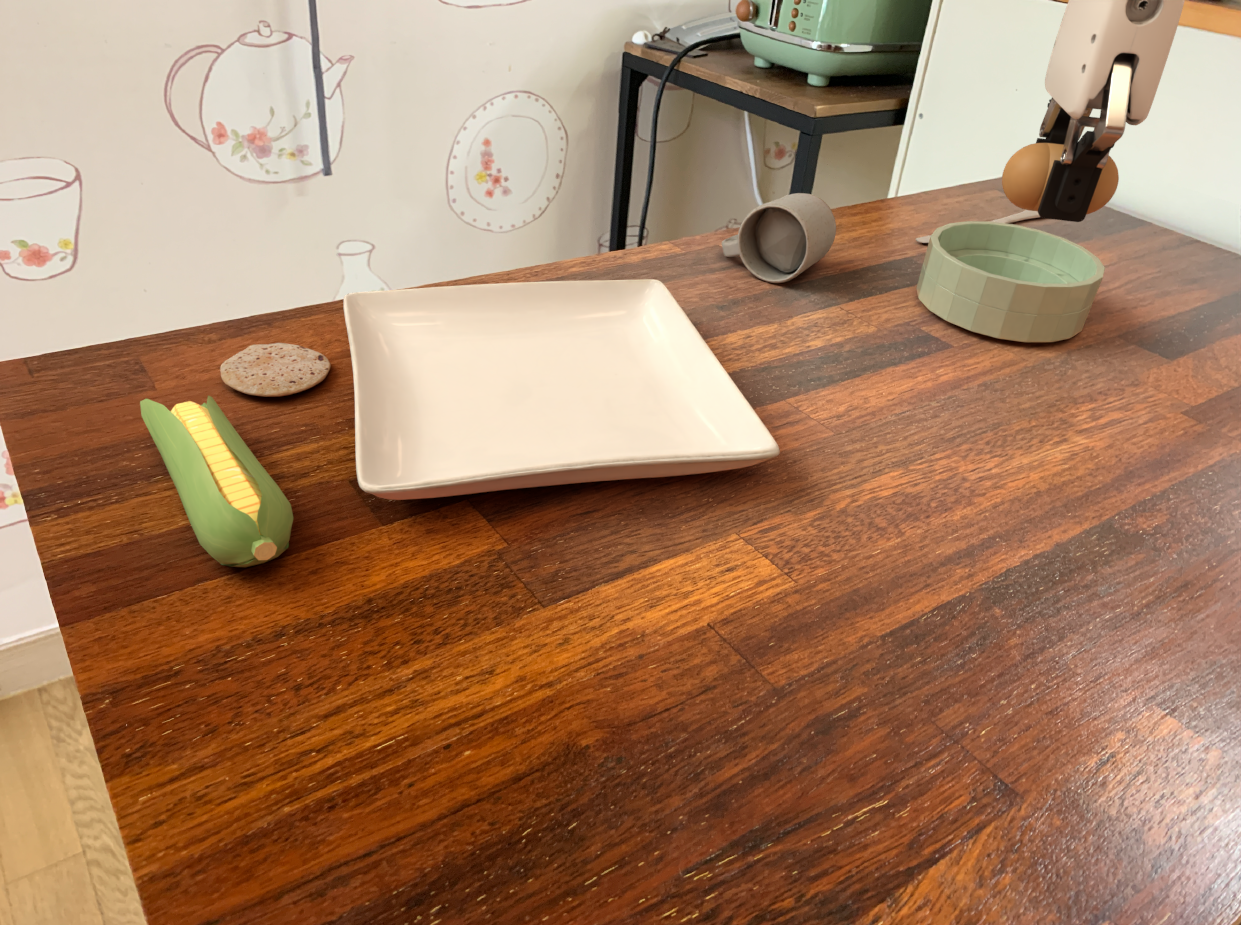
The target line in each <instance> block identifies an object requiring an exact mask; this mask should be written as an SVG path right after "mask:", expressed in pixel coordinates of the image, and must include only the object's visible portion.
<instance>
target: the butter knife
mask: <svg viewBox="0 0 1241 925" xmlns="http://www.w3.org/2000/svg"><path fill="white" fill-rule="evenodd" d="M1036 218H1041V217H1040V215H1039V214H1038V211H1030V210H1025V209H1024V210H1023V211H1020V212H1017V213H1013V214H1011V215H1008V216H1004V217H1000V218H996V219H993V220H990V222H998V223H1006V224H1012V223H1015V222H1019V221H1024V220H1030V219H1036ZM931 235H932V234H931ZM931 235H930V234H929V235H924V236H920V237H915V239H914V240H915V241H916V242H918V243H923V244H929V240H930V236H931Z"/></svg>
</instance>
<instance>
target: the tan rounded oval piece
mask: <svg viewBox="0 0 1241 925" xmlns="http://www.w3.org/2000/svg"><path fill="white" fill-rule="evenodd" d="M1063 146H1064V145H1061V144H1052V143H1036V142H1035V143H1030V144H1028V145H1025V146H1023V147H1021V148H1020V149H1019V150H1017V151H1016V152H1014V154H1012V155H1011V156H1010V158H1009V159H1008V161H1007V162H1006V163H1005V166H1004V168H1003V170H1002V176H1001V185H1002V190H1003V193H1004V195H1005V197H1006V198H1007V199H1008V200H1009V202H1010V203H1011V204H1012V205H1014V206H1016V207H1017V208H1020V209H1022V210H1024V211H1025V210H1030V211H1038V208H1039V205H1040V202H1041V199H1042V196H1043V193H1044V190H1045V187H1046V184H1047V181H1048V178H1049V175H1050V172H1051V169H1052V166H1053V163H1054V160H1059V161H1060V160H1061V154H1062V150H1063ZM1119 179H1120V175H1119V169H1118V167H1117V164H1116V162H1115V161H1114V159H1113V158H1112V157H1111V156H1110V155H1109V156H1108V160H1107V163H1106V165H1105V167H1104V168H1103V169H1102V172H1101V175H1100V178H1099V180H1098V183H1097V186H1096V189H1095V192H1094V194H1093V197H1092V200H1091V203H1090V205H1089V208H1088V211H1087V214H1086V216H1088V215H1090V214H1092V213H1093V214H1094V213H1095V212H1097V211H1099V210H1100V209H1102V208H1104V207H1105V206H1106V205H1107V204H1108V203H1109V202H1110V201H1111V199H1112V198H1114V195H1115V193H1116V192H1117V189H1118V185H1119Z"/></svg>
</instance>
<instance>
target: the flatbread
mask: <svg viewBox="0 0 1241 925" xmlns="http://www.w3.org/2000/svg"><path fill="white" fill-rule="evenodd" d="M331 367H332V366H331V361H330V359H328V357H327V356H325V355H324V354H322V353H321V352H319V351H316V350H314V349H311V348H308V347H306V346H302V345H298V344H292V343H286V342H275V343H268V344H266V343H265V344H264V343H259V344H256V343H253V344H250V345H248V346H247V347H246V348H244V349H243V350H241V351H238V352H237V353H235V354H234V355H232V356H230V357H229V358H228V359H225V360H223V362H222V363H221V365H220V367H219V371H220V378H221V380H222V382H223V383H224V384H225V385H226V386H228V387H229V388H231V389H233V390H236V391H237V392H240V393H242V394H246V395H248V396H257V397H269V398H276V397H284V396H291V395H293V394H297V393H301V392H303V391H306V390H309V389H311V388H314V387H315V386H316V385H319V384H320V383H321V382H323V381H324V380H325V379H326V377H327V376H328V374H329V372H330V370H331Z"/></svg>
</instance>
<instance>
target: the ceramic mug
mask: <svg viewBox="0 0 1241 925" xmlns="http://www.w3.org/2000/svg"><path fill="white" fill-rule="evenodd" d="M737 232H738V233H737V234H735V235H732V236H730V237H727V238H725V239H724V240H722V241H721V248H722V252H723V255H724V257H726V258H733V257H740V260H741V261H742V263H743V265H744V266H745V268H746V269H747V270H748V271H749V273H751V274H752V275H753V276H754V277H756V278H757V279H760V280H761V281H763V282H767V283H772V284H782V283H786V282H789V281H791V280H793V279H795V278H796V277H798V276H799V275H800V274H802V273H803V272H805V271H806V270H808V269H809V268H810V267H811V266H813V265H814V264H816V263H817V262H819V261H820V260H822V259H823V258H824V257H825V256H826V255H827V254H828V253H829V251H830V249H831V248H832V246H833V244H834V242H835V239H836V234H837V223H836V218H835V216H834V213H833V210H832V209H831V207H830V206H829V205H828V204H827V202H826V201H824V200H823V199H822V198H821V197H818V196H816V195H814V194H810V193H804V192H797V193H791V194H790V193H789V194H787V195H784V196H782V197H780V198H777V199H774V200H771V201H769V202H765V203H762V204H760V205H759V206H756V207H755V208H753V209H752V210H751V211H749V212H748V213H747V214H746V216H745V217H744V219H743V220H742V222H741V223H740V225H739V228H738V231H737Z"/></svg>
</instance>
